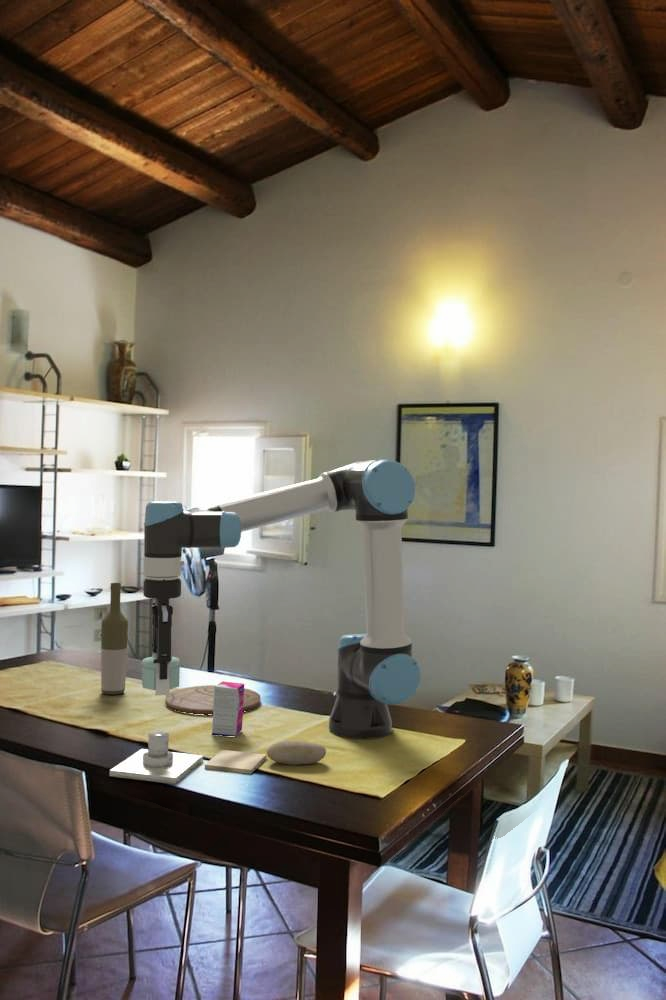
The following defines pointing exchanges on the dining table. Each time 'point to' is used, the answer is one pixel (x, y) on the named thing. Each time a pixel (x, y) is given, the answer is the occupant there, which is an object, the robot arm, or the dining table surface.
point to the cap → (150, 673)
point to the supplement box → (228, 708)
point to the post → (157, 762)
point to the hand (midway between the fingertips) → (160, 689)
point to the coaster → (235, 761)
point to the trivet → (204, 700)
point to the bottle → (114, 646)
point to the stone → (296, 752)
